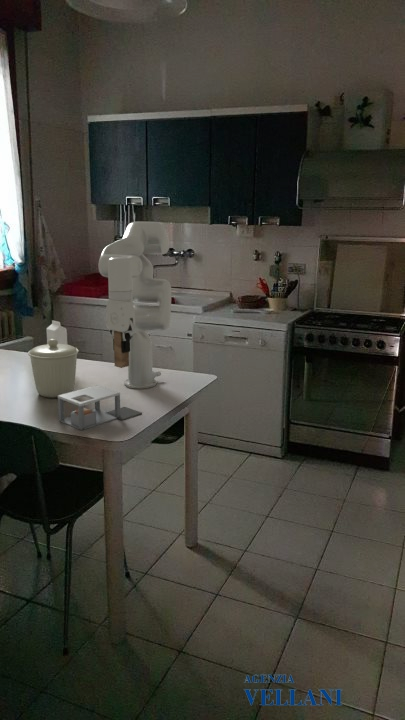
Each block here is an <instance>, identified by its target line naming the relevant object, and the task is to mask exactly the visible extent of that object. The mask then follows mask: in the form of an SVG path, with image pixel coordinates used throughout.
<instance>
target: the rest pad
mask: <svg viewBox="0 0 405 720" xmlns="http://www.w3.org/2000/svg"><path fill="white" fill-rule="evenodd" d="M108 412H109V413H108ZM107 413H108V414H109V415H110V413H112V414H111V416H115V415H114V414H115V409H112V410H109V411H107ZM142 414H143V412H142V411H138V410H135V409H133V408H130V407H127V406H122V407H120V417H117V419H116V420H119V421H125V420H127V419H128V420H129V419H131V418H134V417H136V416H139V415H142Z"/></svg>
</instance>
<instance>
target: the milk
mask: <svg viewBox="0 0 405 720" xmlns="http://www.w3.org/2000/svg"><path fill="white" fill-rule="evenodd" d="M67 331H68V329H67V328H66V327H64V326H62V325H61V321H57V320H52V319H51V324H50V325H48V326H47V327H46V344H48V341H49V340H50V339H56V340H57V341H58V344H67V345H68V332H67Z"/></svg>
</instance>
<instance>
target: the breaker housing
mask: <svg viewBox="0 0 405 720" xmlns="http://www.w3.org/2000/svg"><path fill="white" fill-rule="evenodd" d="M81 398H87V399H88V400H84V401H79V400H78V399H81ZM111 398H114V410H115V414H114V415H115V416H111V414H112V413H110V415H109V414H108V413H109V411H107V410H104V409H102V408H101V401H103V400H108V399H111ZM64 401H65V402H68V403H70V404H73V405H76V406H77V409H78V414H77V413H76V410H74V411H71V412H70V416H67V417H65V410H64ZM93 403H94V409H90V412H91V413H89V414H85V415H84V406H87V405H89V404H93ZM57 407H58V408H57V409H58V422H60V423H62V424H65V425H68V426H70V427H72V428H74V429H77V430H79V431H84V430H87V429H89V428H90V429H91V428H94V427H96V426H99V425H102V424H105V423H108V422H111V421H115V420H118V419H117V417H120V408H121V393H120V392H119V391H116V390H114V389H113V390H112V389H110V388H107V387H104V386H101V385H98V384H96V385H92V386H89V387H85V388H82V389H81V388H80V389H78V390H73V391H72V392H69V393H65V394H62V395H58V397H57ZM107 412H108V413H107Z"/></svg>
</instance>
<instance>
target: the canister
mask: <svg viewBox="0 0 405 720" xmlns="http://www.w3.org/2000/svg"><path fill="white" fill-rule="evenodd" d="M79 351H80V350H79V349H78V348H77V347H74V346H73V345H70V344H68V343H67V344H58V341H57V340H56V339H50V340H49V341H48V344H47V343H46V344H42V345H37V346H35V347H33V348H31V349H30V350H29V351H28V352H27V355H28V356H29V357H30V358H29V359H30V362H31V363H30V364H31V368H32V369H31V370H32V374H33V379H34V385H35V389H36V391H37V393H38V395H40V396H41V397H45V398H50V399H52V398H57V399H58V395H62V394H65V393H69V392H73V391H74V389H75V384H76V372H77V356H78V353H79Z"/></svg>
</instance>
